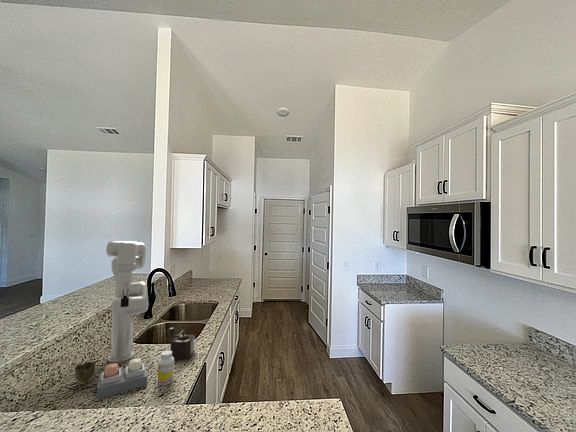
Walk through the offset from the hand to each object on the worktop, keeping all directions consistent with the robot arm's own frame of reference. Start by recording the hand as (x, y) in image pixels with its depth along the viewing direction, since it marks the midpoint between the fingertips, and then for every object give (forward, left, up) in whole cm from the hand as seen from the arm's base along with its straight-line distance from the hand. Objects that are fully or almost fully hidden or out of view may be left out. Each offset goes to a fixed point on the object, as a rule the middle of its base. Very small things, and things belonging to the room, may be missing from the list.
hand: (124, 306), depth 128 cm
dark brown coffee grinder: (-5, +27, -32) cm, 42 cm away
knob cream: (+9, +5, -28) cm, 30 cm away
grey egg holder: (+9, +1, -32) cm, 33 cm away
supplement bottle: (+16, +17, -32) cm, 40 cm away
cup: (-1, -14, -32) cm, 35 cm away
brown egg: (+9, -4, -28) cm, 30 cm away
